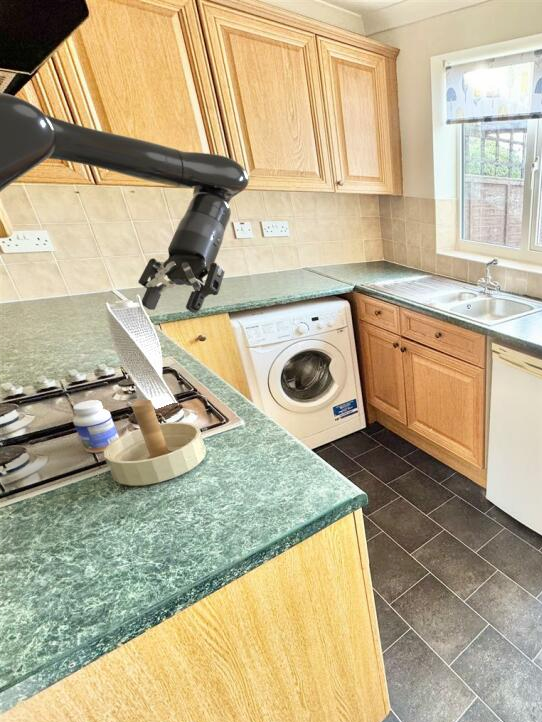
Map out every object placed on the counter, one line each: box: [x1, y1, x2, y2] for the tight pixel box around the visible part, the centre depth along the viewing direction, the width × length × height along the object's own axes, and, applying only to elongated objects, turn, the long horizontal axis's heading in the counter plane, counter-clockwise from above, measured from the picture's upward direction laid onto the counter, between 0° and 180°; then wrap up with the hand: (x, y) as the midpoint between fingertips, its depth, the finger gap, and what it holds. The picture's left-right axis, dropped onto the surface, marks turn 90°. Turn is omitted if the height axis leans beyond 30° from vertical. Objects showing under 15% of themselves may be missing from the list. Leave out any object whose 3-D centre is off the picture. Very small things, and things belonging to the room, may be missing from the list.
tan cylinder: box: [130, 399, 173, 459], centre depth 79 cm, size 4×4×13 cm
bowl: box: [103, 421, 207, 486], centre depth 80 cm, size 14×14×6 cm
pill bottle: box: [72, 399, 120, 454], centre depth 84 cm, size 5×5×10 cm
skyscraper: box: [105, 293, 178, 409], centre depth 94 cm, size 8×8×28 cm
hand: (169, 309), depth 80 cm, fingers open, 8 cm apart
